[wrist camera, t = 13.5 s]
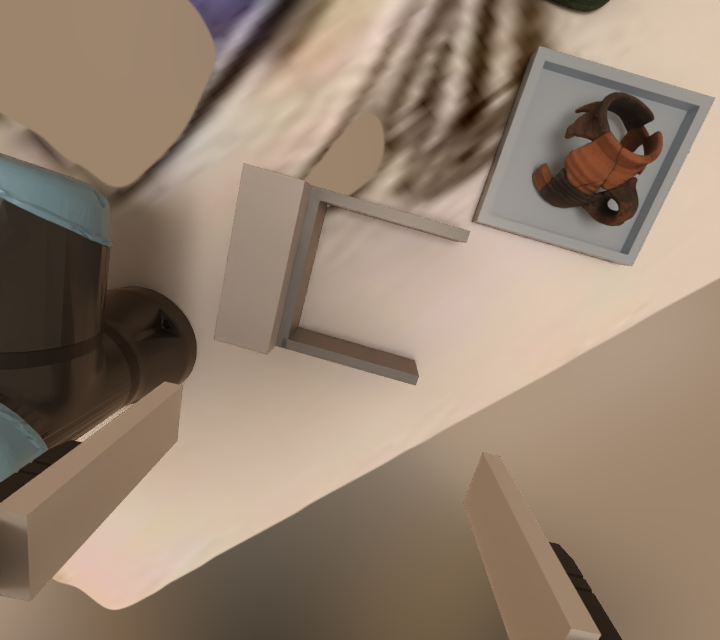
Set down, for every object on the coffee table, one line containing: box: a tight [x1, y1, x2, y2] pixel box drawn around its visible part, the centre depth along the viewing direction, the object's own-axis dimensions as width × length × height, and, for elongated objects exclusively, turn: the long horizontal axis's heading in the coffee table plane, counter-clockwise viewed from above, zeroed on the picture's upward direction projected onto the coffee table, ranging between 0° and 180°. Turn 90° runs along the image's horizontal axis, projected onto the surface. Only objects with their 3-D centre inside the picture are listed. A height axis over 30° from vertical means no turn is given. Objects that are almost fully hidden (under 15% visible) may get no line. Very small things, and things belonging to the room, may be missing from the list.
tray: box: [472, 46, 715, 266], centre depth 36 cm, size 18×17×2 cm
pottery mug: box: [532, 92, 663, 226], centre depth 34 cm, size 12×10×8 cm
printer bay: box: [214, 163, 470, 385], centre depth 38 cm, size 23×18×8 cm
